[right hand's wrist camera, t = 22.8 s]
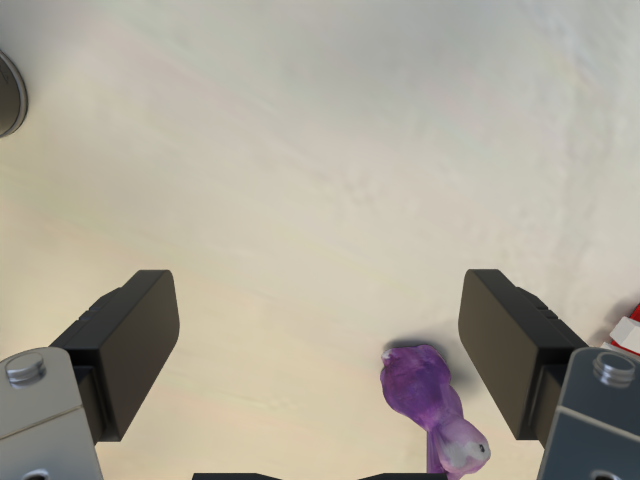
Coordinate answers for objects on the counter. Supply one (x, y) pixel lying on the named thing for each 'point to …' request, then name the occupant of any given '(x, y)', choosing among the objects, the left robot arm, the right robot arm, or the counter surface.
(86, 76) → the counter surface
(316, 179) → the counter surface
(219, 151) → the counter surface
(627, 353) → the toy
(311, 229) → the counter surface
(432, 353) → the figurine
